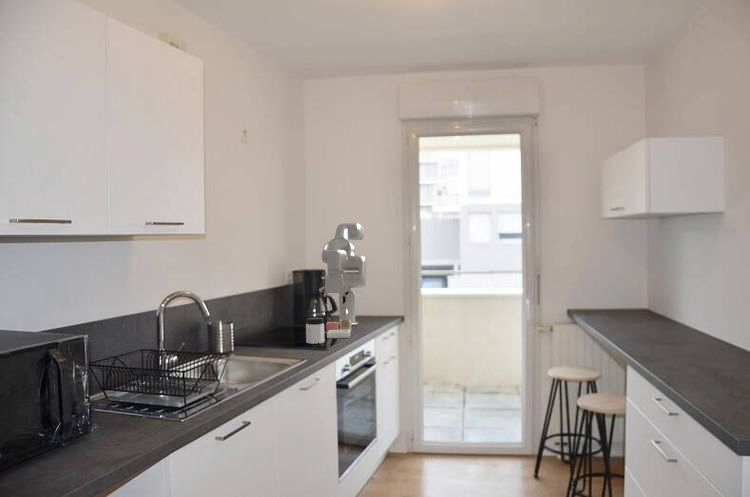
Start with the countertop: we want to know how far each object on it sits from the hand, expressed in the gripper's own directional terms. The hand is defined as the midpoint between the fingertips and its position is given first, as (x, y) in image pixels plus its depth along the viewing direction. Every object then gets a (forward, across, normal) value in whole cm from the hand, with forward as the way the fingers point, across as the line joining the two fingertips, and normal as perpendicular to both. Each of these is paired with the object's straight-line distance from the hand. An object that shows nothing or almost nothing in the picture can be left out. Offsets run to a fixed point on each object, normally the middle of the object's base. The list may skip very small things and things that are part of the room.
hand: (334, 303), depth 327 cm
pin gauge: (+16, -5, -6) cm, 18 cm away
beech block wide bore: (+16, -5, -6) cm, 18 cm away
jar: (+17, +8, +30) cm, 35 cm away
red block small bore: (+16, +2, +1) cm, 16 cm away
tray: (+16, -3, +12) cm, 21 cm away
